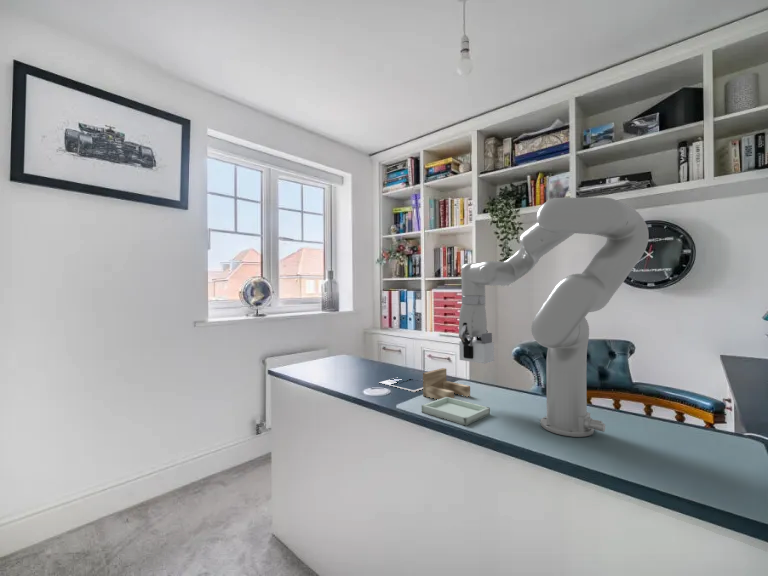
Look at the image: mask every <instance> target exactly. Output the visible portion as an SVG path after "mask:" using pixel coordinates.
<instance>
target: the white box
mask: <svg viewBox="0 0 768 576" xmlns="http://www.w3.org/2000/svg"><path fill="white" fill-rule="evenodd" d="M458 343H459V344H458V345H459V347H458V348H459V360H460V361H462V362H463V361H465V362H472V363H478V364H488V363H491V362H494V361H495V342H494V341H493V333H492V332H488V333H484V334H482V341H477V340H475V339H473V341H472V346H473V359H469V358H464V346H463V345H462V341H459V342H458Z"/></svg>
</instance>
